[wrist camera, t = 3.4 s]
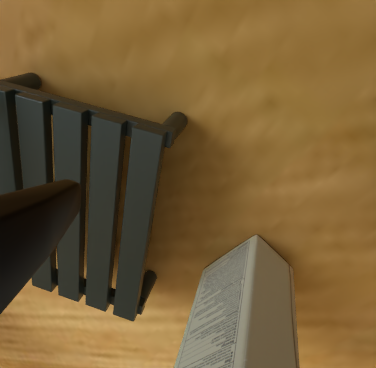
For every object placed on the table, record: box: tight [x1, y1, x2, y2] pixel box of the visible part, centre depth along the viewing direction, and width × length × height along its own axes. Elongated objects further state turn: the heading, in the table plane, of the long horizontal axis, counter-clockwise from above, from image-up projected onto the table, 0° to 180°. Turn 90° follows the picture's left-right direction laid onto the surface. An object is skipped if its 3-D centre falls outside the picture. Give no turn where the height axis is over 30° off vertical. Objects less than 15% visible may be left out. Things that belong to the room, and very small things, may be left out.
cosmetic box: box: [174, 235, 299, 368], centre depth 20 cm, size 6×4×12 cm
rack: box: [0, 73, 187, 321], centre depth 23 cm, size 12×16×7 cm
